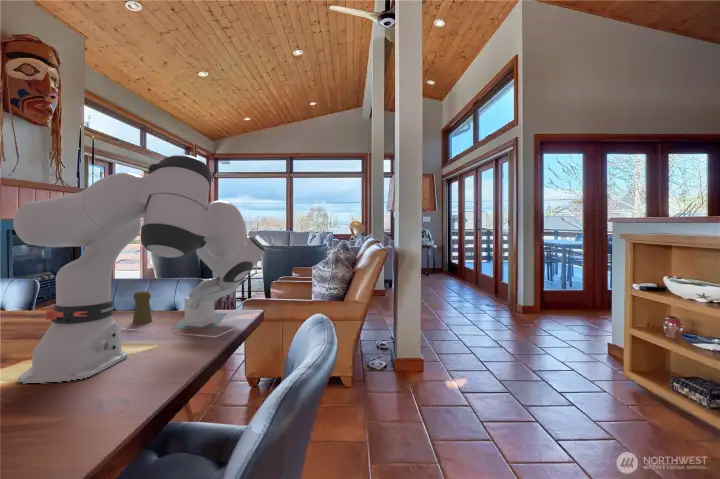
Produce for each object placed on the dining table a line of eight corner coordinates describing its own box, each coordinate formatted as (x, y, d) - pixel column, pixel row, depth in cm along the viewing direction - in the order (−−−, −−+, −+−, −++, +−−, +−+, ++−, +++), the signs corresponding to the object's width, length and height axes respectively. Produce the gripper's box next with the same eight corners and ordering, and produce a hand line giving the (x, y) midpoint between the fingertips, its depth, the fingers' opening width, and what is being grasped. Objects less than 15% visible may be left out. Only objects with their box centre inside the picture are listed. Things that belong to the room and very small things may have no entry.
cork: (133, 322, 137) (132, 290, 137) (153, 320, 140) (152, 289, 139) (131, 326, 132) (131, 293, 131) (152, 324, 134) (151, 291, 134)
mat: (215, 329, 128) (215, 327, 128) (169, 330, 126) (169, 329, 126) (226, 314, 150) (226, 313, 150) (187, 315, 147) (187, 314, 147)
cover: (214, 322, 135) (214, 295, 135) (202, 326, 129) (201, 299, 129) (197, 320, 137) (197, 294, 137) (184, 325, 131) (184, 298, 130)
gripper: (213, 288, 120) (186, 318, 122) (249, 279, 139) (225, 306, 142) (200, 272, 121) (173, 303, 123) (238, 266, 140) (214, 293, 143)
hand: (201, 304), depth 133 cm, fingers open, 8 cm apart
